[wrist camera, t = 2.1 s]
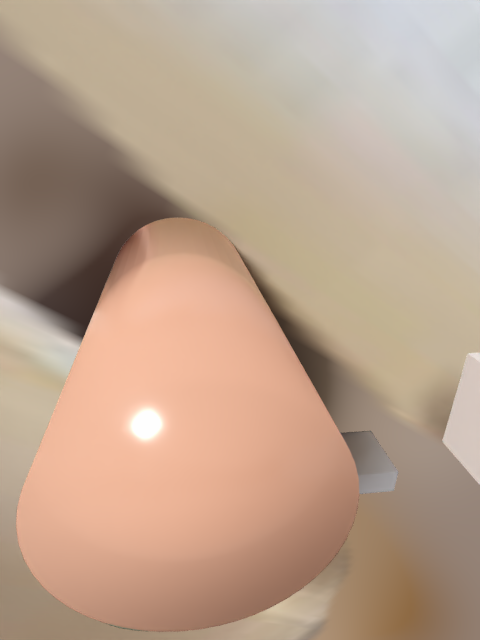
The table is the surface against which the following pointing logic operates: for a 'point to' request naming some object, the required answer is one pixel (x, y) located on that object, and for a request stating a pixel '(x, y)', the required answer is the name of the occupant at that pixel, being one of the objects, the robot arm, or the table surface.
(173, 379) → the peach rounded cylinder
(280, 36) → the table surface
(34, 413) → the table surface
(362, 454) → the rail
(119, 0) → the table surface
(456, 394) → the robot arm
